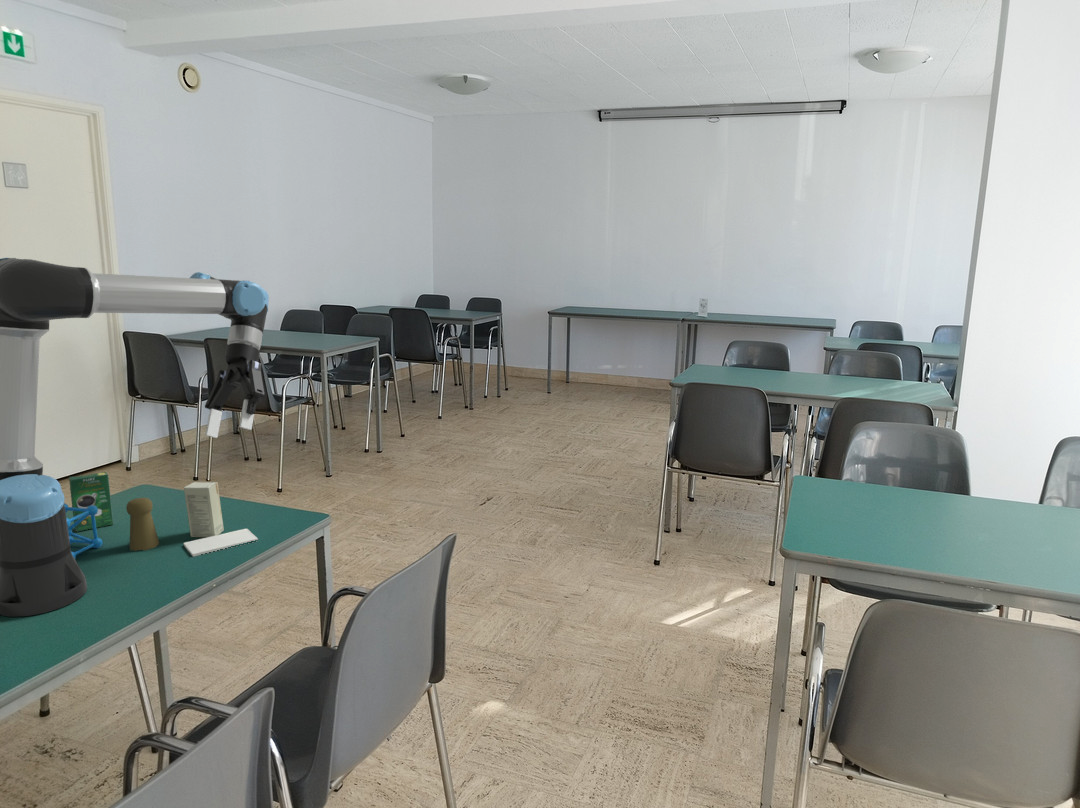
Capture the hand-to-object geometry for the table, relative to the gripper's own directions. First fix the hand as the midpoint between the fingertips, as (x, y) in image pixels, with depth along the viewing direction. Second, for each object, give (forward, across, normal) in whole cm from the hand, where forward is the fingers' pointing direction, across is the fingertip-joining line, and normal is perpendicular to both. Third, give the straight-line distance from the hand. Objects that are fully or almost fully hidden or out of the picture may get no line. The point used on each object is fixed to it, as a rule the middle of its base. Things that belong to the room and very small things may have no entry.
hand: (227, 432), depth 174 cm
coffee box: (+21, +37, +8) cm, 43 cm away
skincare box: (+22, +11, -6) cm, 25 cm away
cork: (+26, +16, +5) cm, 31 cm away
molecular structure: (+29, +26, +16) cm, 42 cm away
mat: (+24, +3, -5) cm, 25 cm away
